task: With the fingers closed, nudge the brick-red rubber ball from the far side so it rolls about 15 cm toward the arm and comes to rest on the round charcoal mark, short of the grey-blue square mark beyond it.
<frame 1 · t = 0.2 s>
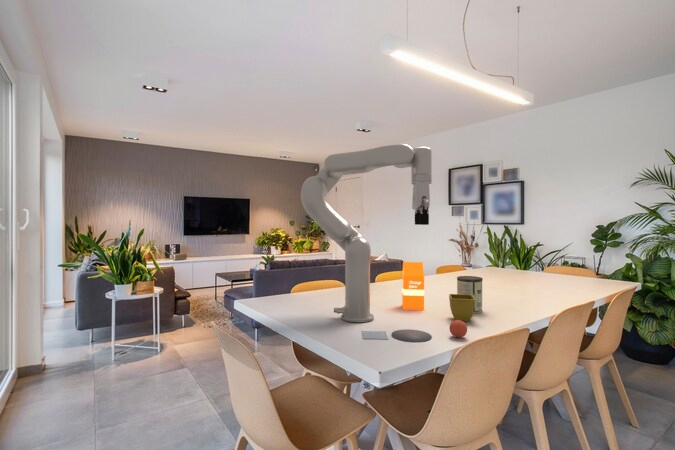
hand: (421, 224, 141), 36 cm above the table, tool pointing down, fingers open, 9 cm apart
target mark: (411, 335, 121), on the table
orange juice: (412, 307, 162), on the table
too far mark: (374, 335, 121), on the table
ball: (458, 328, 119), on the table
coffee can: (469, 311, 156), on the table
flower pot: (461, 320, 141), on the table
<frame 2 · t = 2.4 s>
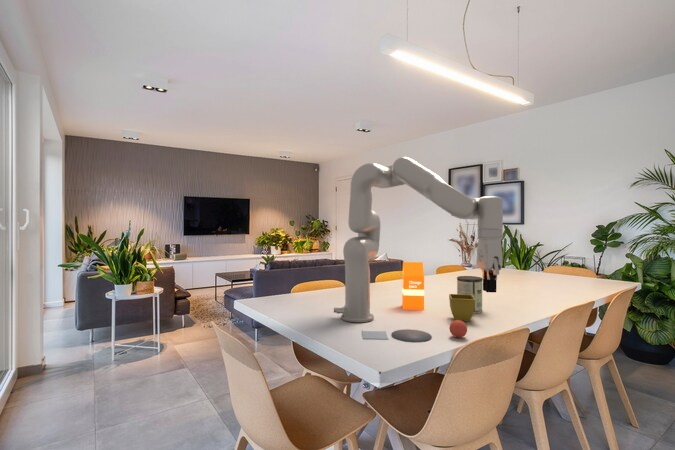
hand: (489, 291, 119), 15 cm above the table, tool pointing down, fingers closed
nothing on the table moved.
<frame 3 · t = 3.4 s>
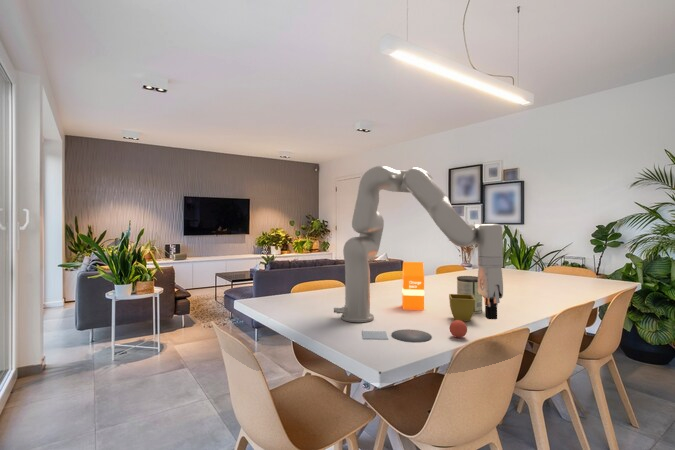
hand: (491, 318, 119), 6 cm above the table, tool pointing down, fingers closed
nothing on the table moved.
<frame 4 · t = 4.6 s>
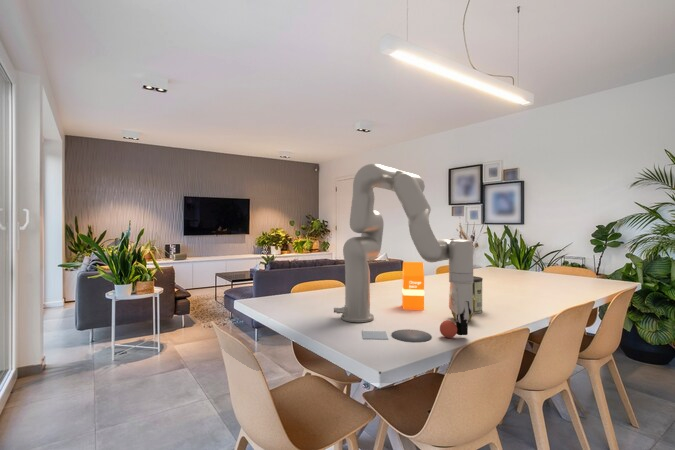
hand: (461, 334, 119), 1 cm above the table, tool pointing down, fingers closed
ball: (448, 329, 119), on the table, touching gripper
everything else where it was.
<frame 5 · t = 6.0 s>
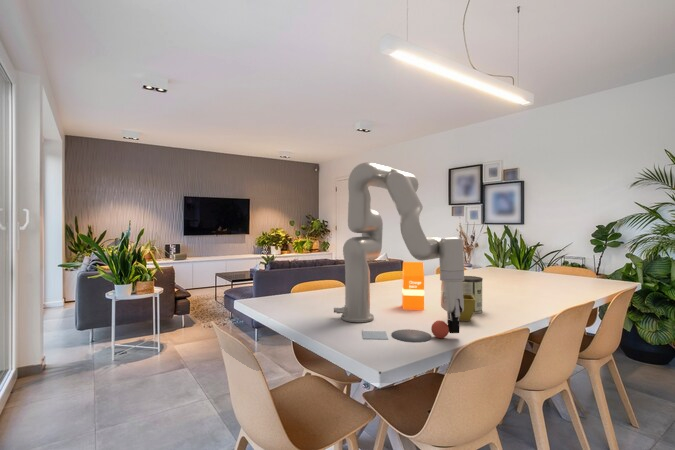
hand: (453, 332, 119), 2 cm above the table, tool pointing down, fingers closed
ball: (440, 329, 119), on the table, touching gripper
everything else where it was.
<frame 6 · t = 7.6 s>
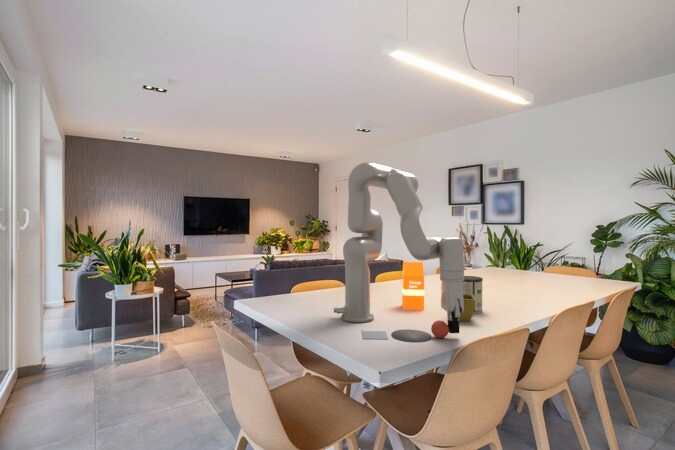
hand: (453, 332, 119), 2 cm above the table, tool pointing down, fingers closed
nothing on the table moved.
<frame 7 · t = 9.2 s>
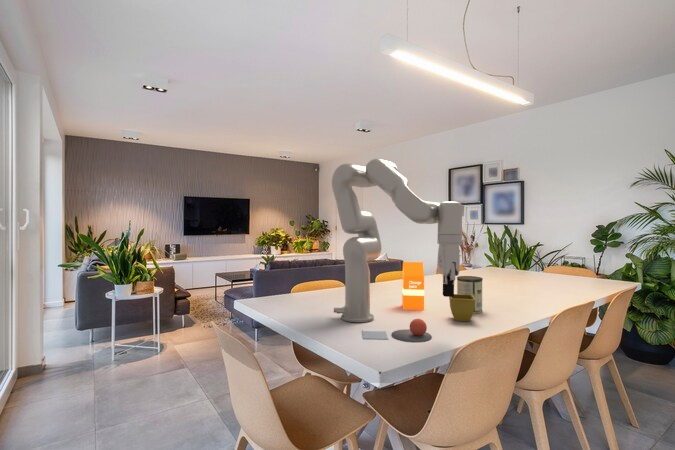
hand: (448, 296, 120), 13 cm above the table, tool pointing down, fingers closed
ball: (418, 327, 121), on the table
everything else where it was.
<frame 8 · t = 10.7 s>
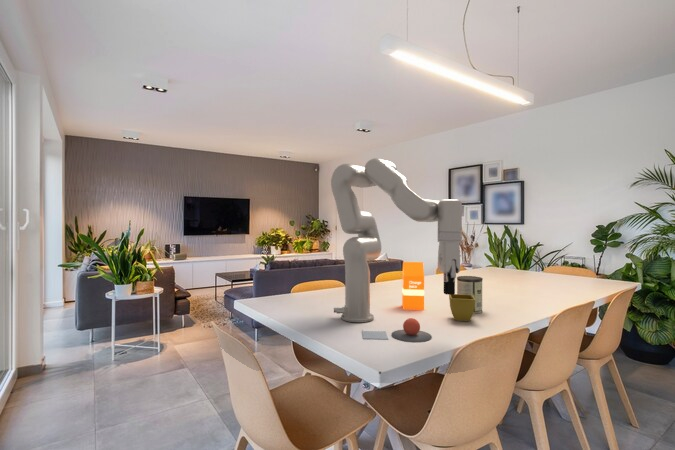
hand: (449, 293, 119), 14 cm above the table, tool pointing down, fingers closed
ball: (411, 326, 121), on the table
everything else where it was.
at the end: ball 0.9 cm from the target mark (horizontally); ball at rest at the end (0.0 cm/s); ball moved 14.9 cm from its start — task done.
